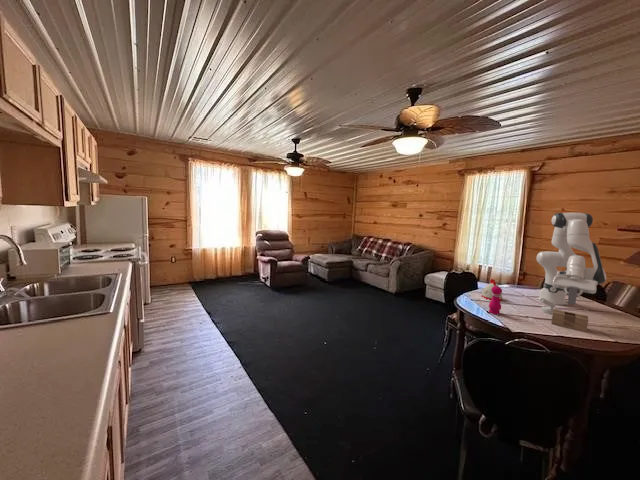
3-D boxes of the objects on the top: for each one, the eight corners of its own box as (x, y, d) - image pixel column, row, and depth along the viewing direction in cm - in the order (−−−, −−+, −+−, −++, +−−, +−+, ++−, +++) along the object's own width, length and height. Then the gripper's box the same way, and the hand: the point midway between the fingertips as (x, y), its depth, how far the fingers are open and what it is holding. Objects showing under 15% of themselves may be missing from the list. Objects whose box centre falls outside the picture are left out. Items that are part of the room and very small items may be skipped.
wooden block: (552, 320, 182) (553, 308, 181) (585, 327, 172) (587, 315, 171) (551, 323, 176) (552, 312, 175) (586, 331, 166) (588, 319, 165)
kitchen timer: (496, 295, 230) (498, 277, 228) (505, 301, 217) (507, 282, 215) (478, 294, 232) (480, 276, 230) (486, 300, 218) (488, 281, 216)
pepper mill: (485, 311, 195) (488, 282, 193) (495, 310, 196) (498, 282, 193) (492, 315, 188) (495, 285, 186) (503, 315, 189) (506, 285, 186)
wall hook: (537, 296, 201) (553, 297, 199) (536, 309, 202) (552, 310, 200) (544, 300, 192) (561, 301, 190) (542, 313, 194) (559, 315, 192)
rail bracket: (567, 301, 175) (569, 285, 173) (575, 302, 172) (577, 287, 171) (567, 303, 172) (569, 287, 170) (575, 304, 169) (577, 288, 168)
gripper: (596, 283, 172) (595, 302, 166) (553, 276, 186) (550, 294, 180) (598, 277, 168) (597, 296, 162) (554, 271, 182) (551, 289, 176)
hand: (572, 295), depth 171 cm, fingers closed on rail bracket, 3 cm apart
